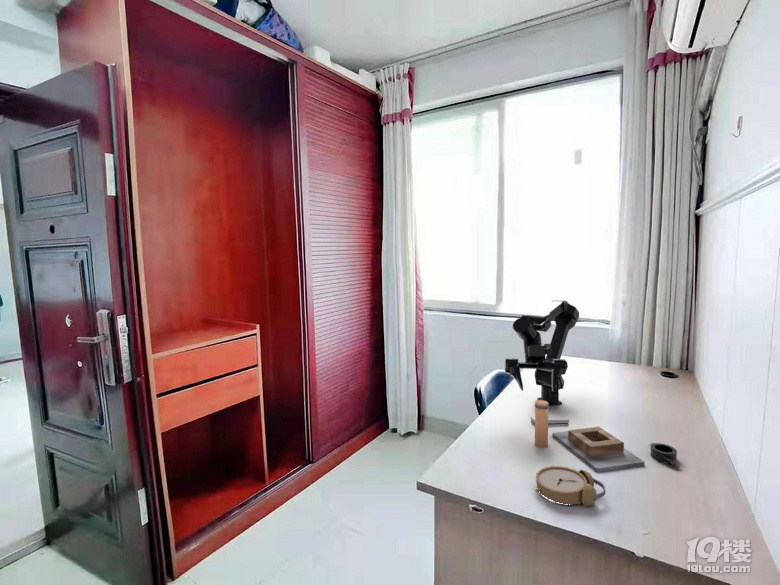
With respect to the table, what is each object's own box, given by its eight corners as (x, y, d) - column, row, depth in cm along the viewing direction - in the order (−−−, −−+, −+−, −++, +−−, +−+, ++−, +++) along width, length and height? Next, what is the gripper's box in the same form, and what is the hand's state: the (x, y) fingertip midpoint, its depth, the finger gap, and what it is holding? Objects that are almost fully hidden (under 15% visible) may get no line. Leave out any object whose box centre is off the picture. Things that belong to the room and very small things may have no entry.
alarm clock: (535, 464, 101) (600, 464, 95) (538, 482, 101) (603, 483, 95) (533, 489, 91) (606, 491, 85) (537, 509, 91) (610, 513, 85)
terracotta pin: (532, 442, 117) (532, 400, 116) (543, 440, 118) (544, 399, 116) (538, 448, 114) (539, 405, 112) (550, 447, 114) (551, 404, 113)
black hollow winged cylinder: (644, 462, 105) (644, 452, 105) (648, 446, 113) (648, 437, 113) (680, 471, 100) (680, 461, 100) (681, 454, 108) (681, 444, 108)
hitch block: (552, 436, 121) (552, 423, 120) (593, 430, 123) (593, 418, 122) (596, 472, 101) (597, 457, 100) (644, 465, 103) (645, 450, 103)
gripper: (505, 333, 127) (508, 378, 118) (566, 334, 123) (575, 380, 114) (503, 351, 136) (506, 393, 126) (561, 352, 132) (568, 396, 122)
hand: (537, 390), depth 122 cm, fingers open, 9 cm apart
